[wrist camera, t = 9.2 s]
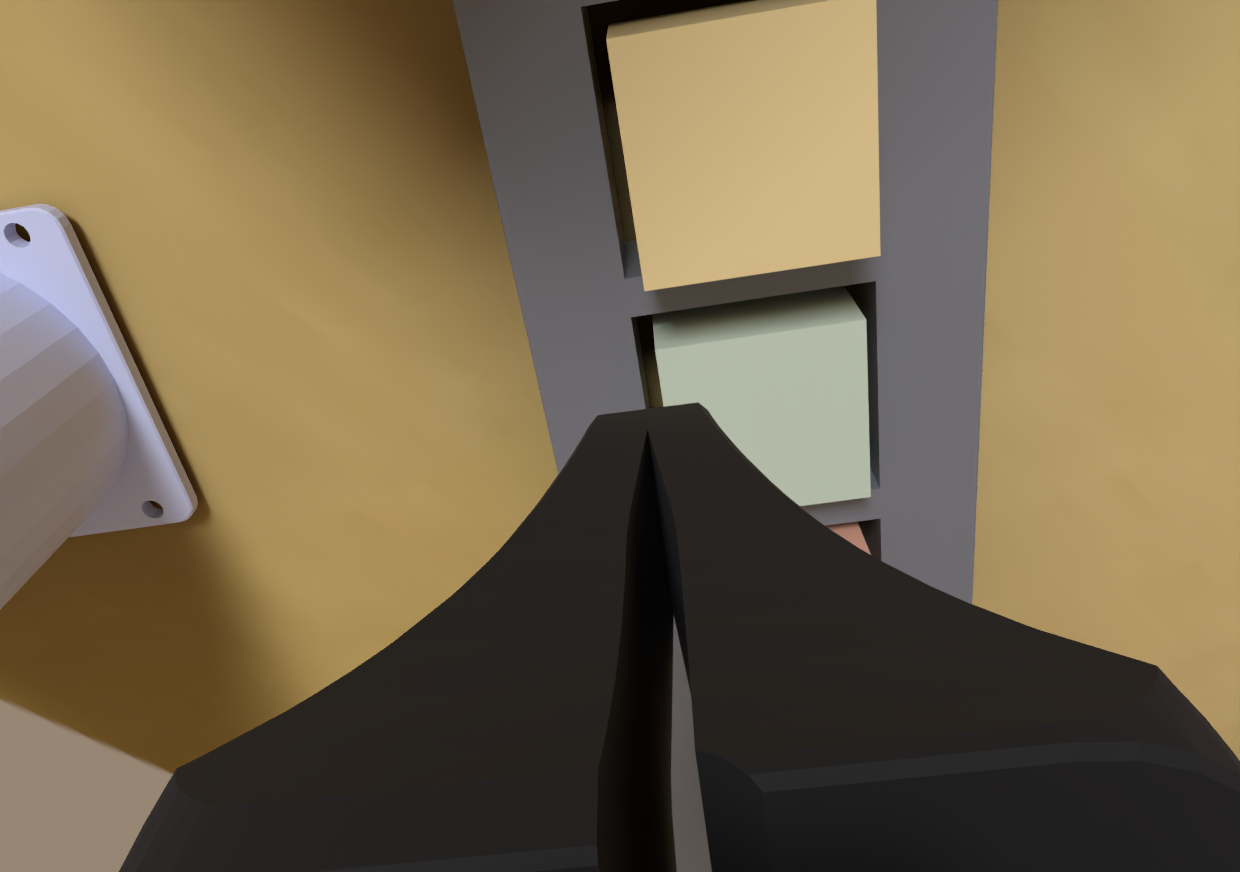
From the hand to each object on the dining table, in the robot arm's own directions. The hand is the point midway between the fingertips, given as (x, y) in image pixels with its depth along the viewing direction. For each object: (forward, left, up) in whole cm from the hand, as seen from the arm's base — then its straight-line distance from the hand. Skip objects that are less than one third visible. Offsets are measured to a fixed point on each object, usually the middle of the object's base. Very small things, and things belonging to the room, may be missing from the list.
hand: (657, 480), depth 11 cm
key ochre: (+2, +3, -8) cm, 9 cm away
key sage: (+2, -3, -9) cm, 10 cm away
